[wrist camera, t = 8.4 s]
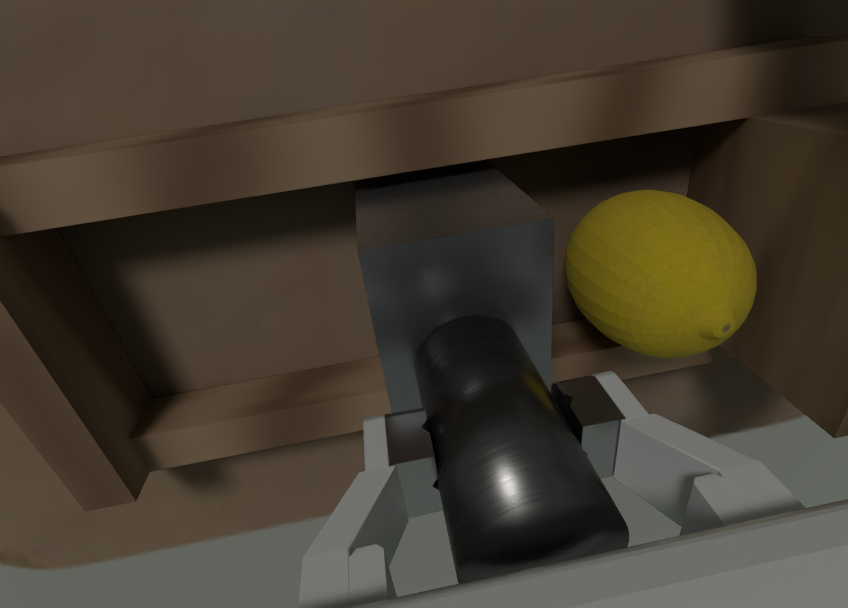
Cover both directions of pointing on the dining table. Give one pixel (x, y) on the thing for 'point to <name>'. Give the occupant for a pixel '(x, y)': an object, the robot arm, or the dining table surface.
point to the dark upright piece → (480, 363)
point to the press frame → (409, 151)
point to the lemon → (660, 273)
